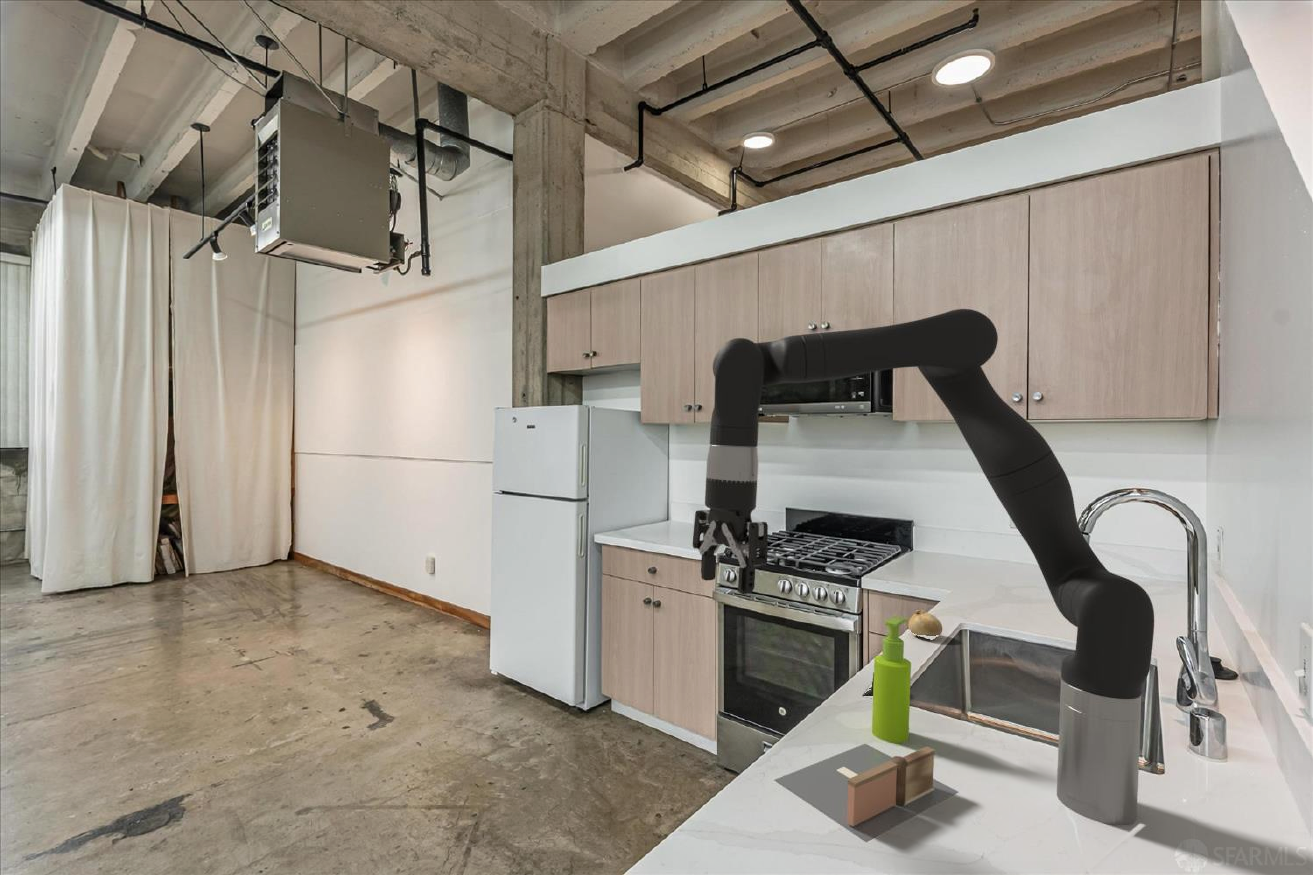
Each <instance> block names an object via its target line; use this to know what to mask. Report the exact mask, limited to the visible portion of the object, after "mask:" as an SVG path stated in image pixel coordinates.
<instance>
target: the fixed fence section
mask: <svg viewBox="0 0 1313 875" xmlns="http://www.w3.org/2000/svg"><path fill="white" fill-rule="evenodd" d="M935 754H936V749H934V748H932V747H929V746H925V747H922V748H920V749H918V750H916V751H914V752H911V753H909V754H906V755H905V756H899V755H895V756H892V758H893V763H895V764H897V765H898V769H897V779H896V805H897V806H904V805H905V802H906V801H908V800H910V799H911V798H913V797H915V796H917V795H919V794H921V793H923V792H925V791H927V790H929V789H931V788H933V779H934V765H935V764H934V763H935V762H934V761H935V760H934V759H935Z"/></svg>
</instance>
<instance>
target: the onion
mask: <svg viewBox="0 0 1313 875" xmlns="http://www.w3.org/2000/svg"><path fill="white" fill-rule="evenodd" d="M908 630H909V631H910V630H911V632H912V633H914V634H917V635H926V636H936V635H940V636H941V635H942V633H943V625H942V622H941V620H939V619H938V617H936V615H934V614H932V613H929V612H927V611H926V610H924V609H916V610H915V612H914V614H913V615H912V616H911V617H910V619H909V620H908ZM911 632H910V633H911ZM912 633H911V634H912Z"/></svg>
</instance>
